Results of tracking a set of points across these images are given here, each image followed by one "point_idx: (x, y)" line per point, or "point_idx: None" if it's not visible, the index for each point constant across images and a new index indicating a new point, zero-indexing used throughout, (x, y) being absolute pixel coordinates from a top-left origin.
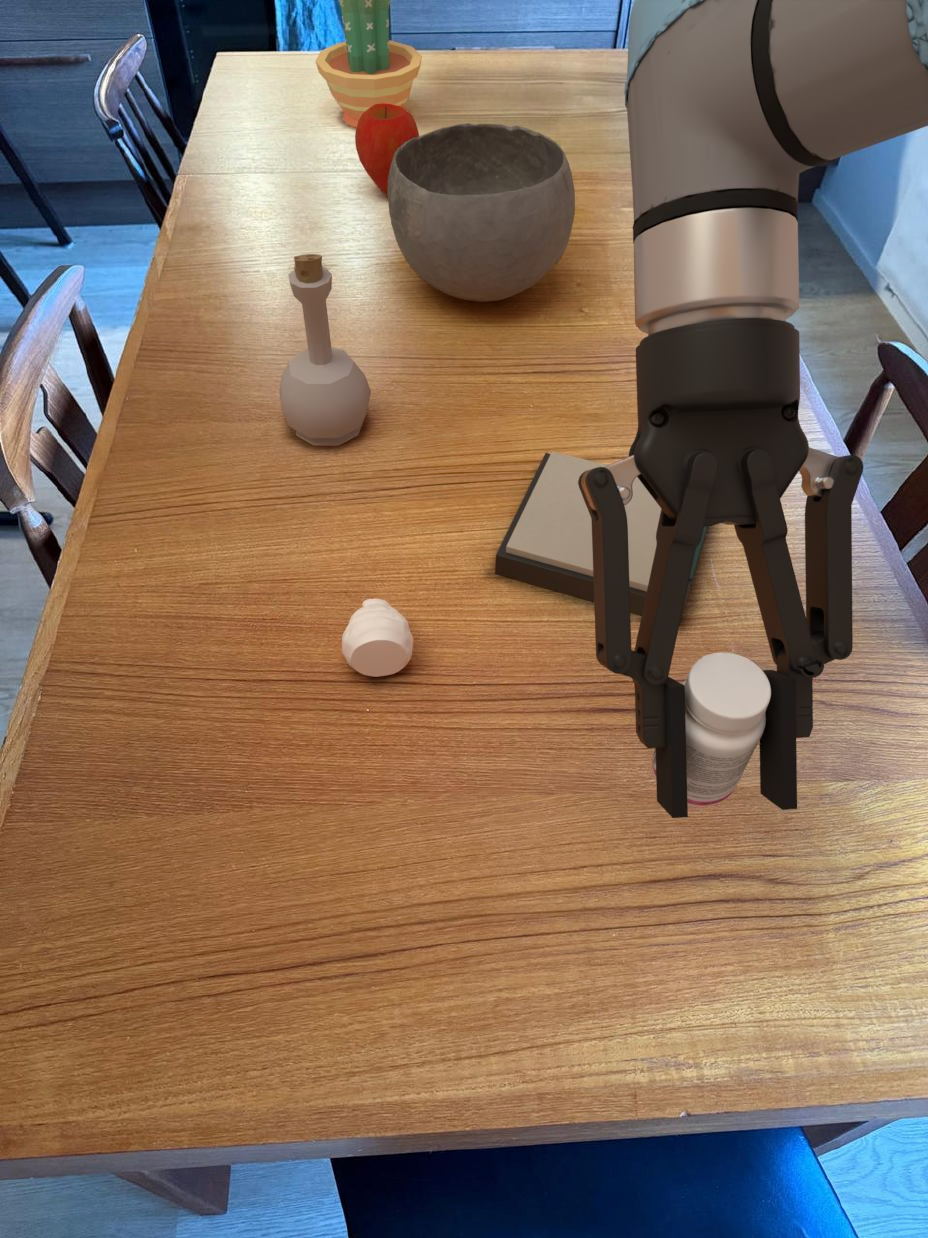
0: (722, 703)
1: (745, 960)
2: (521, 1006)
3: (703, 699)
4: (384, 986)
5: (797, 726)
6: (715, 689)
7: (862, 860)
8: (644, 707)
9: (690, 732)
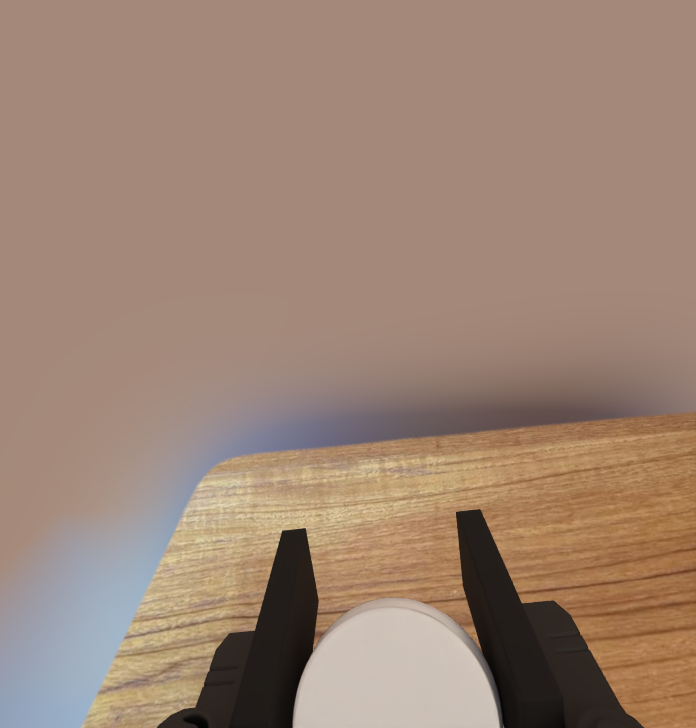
0: (420, 651)
1: (322, 565)
2: (545, 515)
3: (466, 663)
4: (692, 531)
5: (246, 649)
6: (433, 699)
7: (161, 689)
8: (596, 669)
9: (467, 636)
